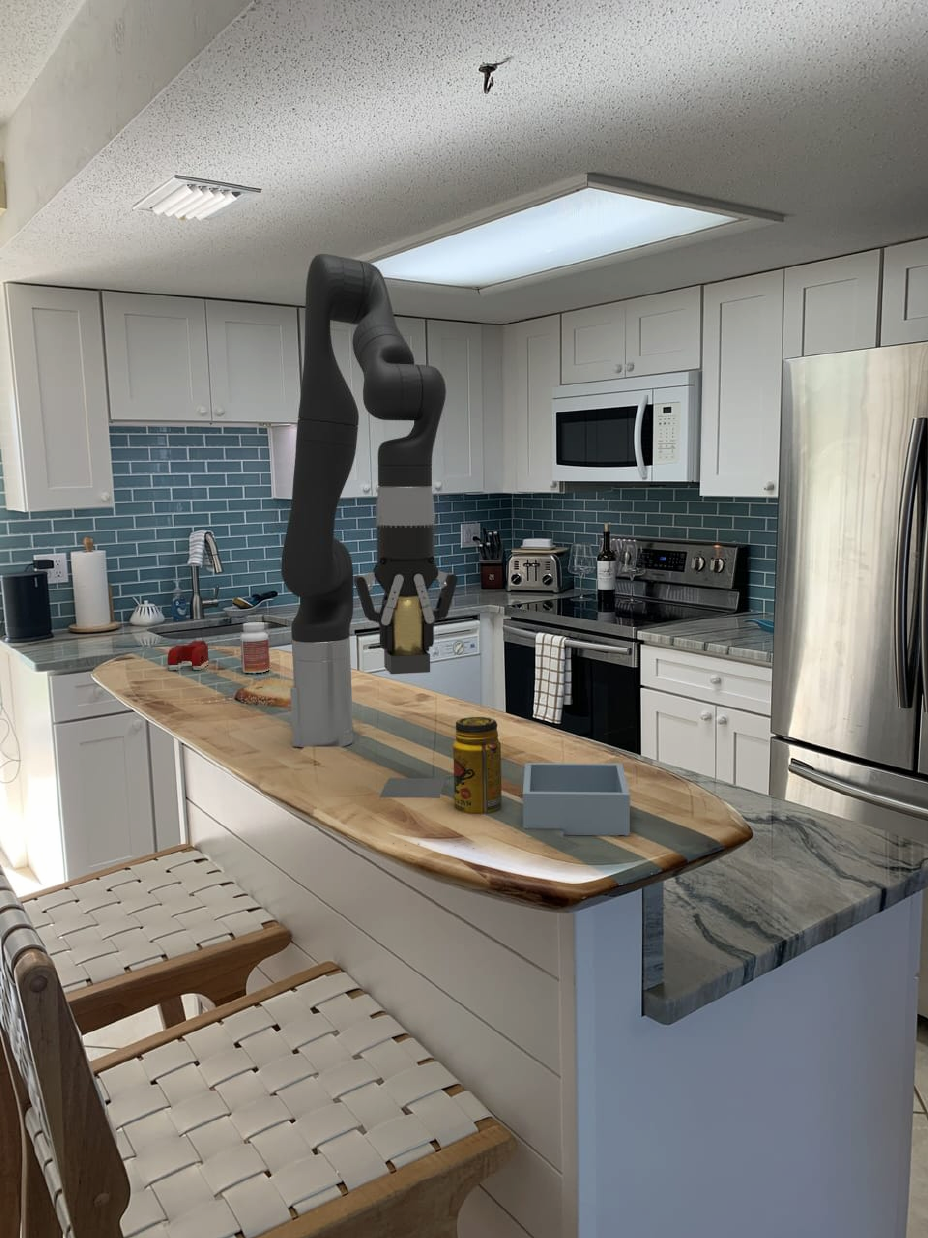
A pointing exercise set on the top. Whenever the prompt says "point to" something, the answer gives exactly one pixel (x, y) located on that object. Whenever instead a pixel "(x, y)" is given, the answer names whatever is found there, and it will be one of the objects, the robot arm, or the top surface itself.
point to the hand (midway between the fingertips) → (406, 650)
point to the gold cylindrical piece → (407, 639)
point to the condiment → (477, 766)
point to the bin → (576, 798)
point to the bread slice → (267, 693)
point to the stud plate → (413, 787)
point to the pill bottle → (254, 648)
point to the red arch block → (189, 653)
